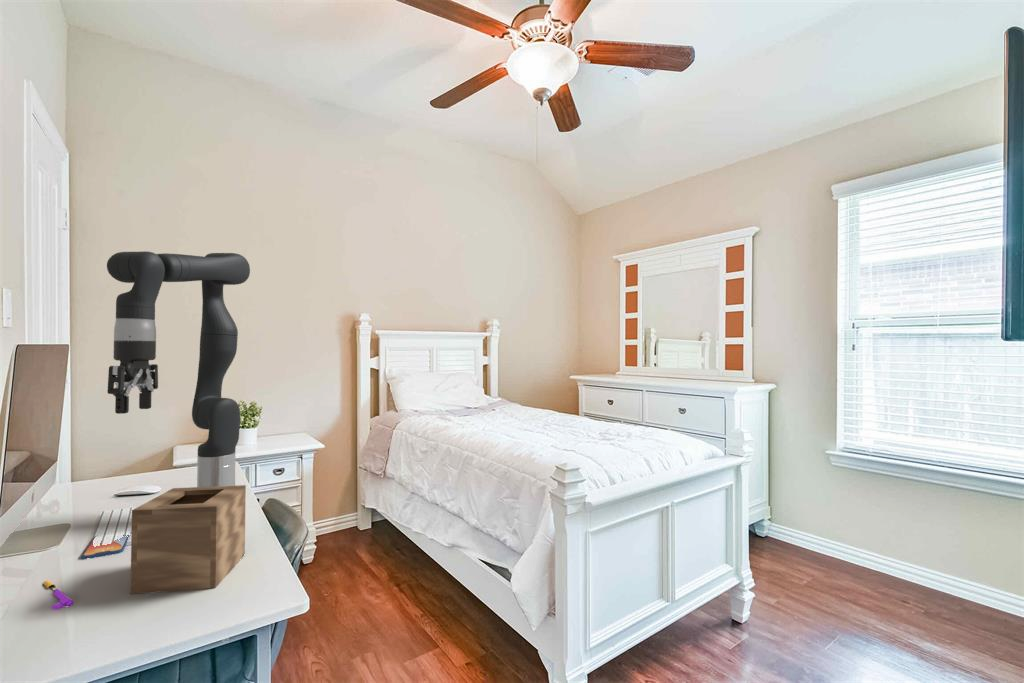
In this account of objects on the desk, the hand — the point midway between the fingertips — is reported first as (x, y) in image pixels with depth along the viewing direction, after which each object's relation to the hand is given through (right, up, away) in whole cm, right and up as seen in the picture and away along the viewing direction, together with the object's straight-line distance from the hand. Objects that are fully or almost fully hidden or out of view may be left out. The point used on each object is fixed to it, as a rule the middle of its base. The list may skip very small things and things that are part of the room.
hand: (134, 411), depth 108 cm
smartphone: (-12, -34, +7) cm, 36 cm away
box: (+18, -33, -8) cm, 39 cm away
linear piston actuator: (-2, -34, -17) cm, 38 cm away
